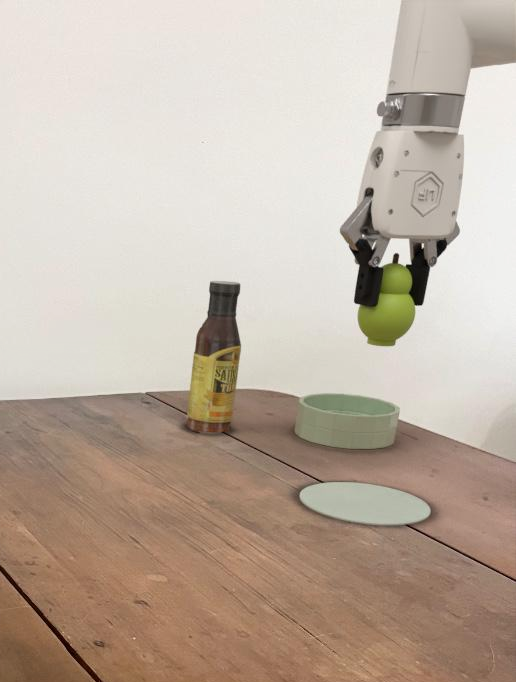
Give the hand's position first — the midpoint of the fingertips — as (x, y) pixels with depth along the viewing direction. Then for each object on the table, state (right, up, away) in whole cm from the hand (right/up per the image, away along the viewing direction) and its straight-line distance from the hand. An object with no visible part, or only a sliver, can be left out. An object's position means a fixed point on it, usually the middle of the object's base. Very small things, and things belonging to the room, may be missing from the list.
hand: (388, 302), depth 100 cm
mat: (-2, -22, +2) cm, 22 cm away
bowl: (+3, -10, +27) cm, 29 cm away
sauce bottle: (-15, -9, +29) cm, 34 cm away
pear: (0, -4, +2) cm, 4 cm away
